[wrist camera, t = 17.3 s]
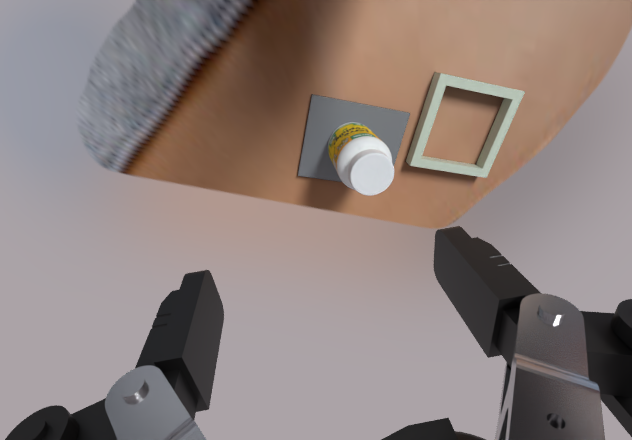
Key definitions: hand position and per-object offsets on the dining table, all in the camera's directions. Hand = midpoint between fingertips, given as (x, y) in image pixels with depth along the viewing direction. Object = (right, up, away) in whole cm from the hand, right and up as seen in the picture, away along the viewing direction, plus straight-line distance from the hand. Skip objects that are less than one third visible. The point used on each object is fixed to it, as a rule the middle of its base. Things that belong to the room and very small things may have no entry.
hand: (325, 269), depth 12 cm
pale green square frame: (+16, +13, +27) cm, 34 cm away
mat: (+4, +10, +26) cm, 29 cm away
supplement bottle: (+4, +10, +26) cm, 28 cm away
